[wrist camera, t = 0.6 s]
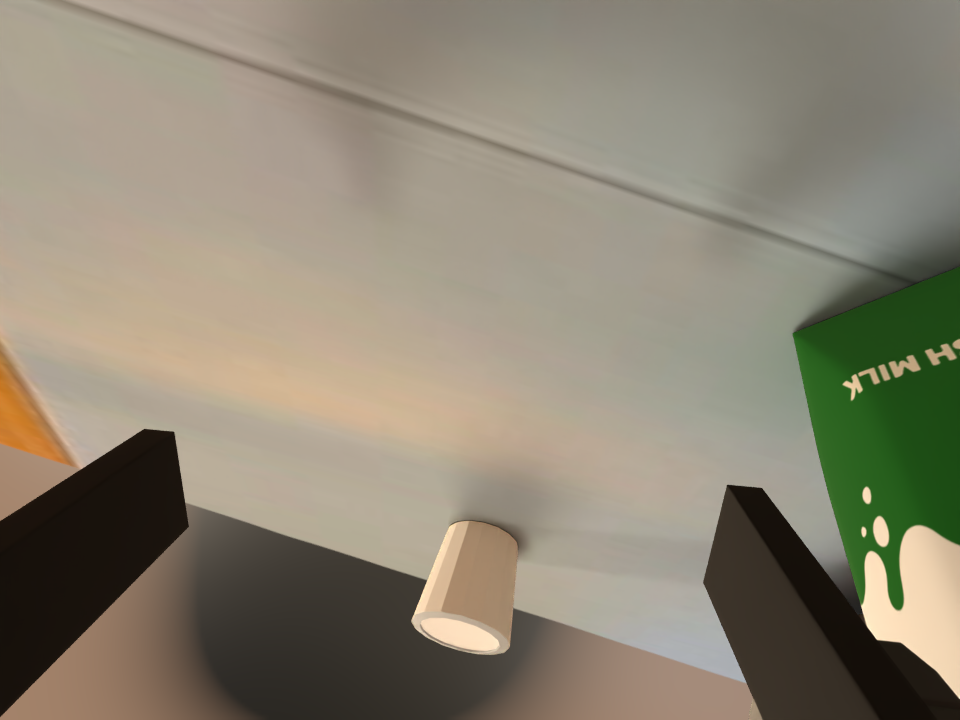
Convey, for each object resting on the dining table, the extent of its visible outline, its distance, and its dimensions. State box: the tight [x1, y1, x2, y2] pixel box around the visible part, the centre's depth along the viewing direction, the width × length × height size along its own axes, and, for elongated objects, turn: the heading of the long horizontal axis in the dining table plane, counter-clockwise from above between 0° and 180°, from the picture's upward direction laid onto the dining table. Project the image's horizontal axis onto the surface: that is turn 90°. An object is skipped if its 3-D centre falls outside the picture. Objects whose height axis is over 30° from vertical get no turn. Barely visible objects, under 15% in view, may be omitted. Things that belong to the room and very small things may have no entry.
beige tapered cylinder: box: [412, 521, 518, 655], centre depth 38 cm, size 7×7×7 cm
